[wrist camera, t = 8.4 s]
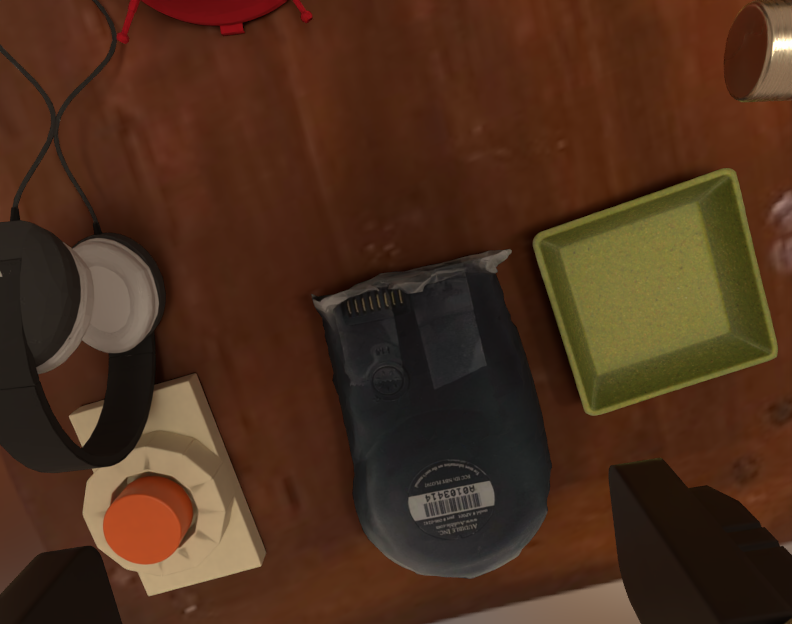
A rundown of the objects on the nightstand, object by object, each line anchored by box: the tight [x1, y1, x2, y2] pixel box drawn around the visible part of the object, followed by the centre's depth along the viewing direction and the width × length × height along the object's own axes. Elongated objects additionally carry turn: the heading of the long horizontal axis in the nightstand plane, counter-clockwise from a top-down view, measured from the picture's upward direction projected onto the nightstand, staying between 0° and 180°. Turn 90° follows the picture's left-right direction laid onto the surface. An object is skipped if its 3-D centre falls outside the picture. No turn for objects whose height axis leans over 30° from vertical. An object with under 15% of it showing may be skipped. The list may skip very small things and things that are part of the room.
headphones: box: [0, 0, 166, 473], centre depth 26 cm, size 10×4×20 cm
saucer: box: [533, 168, 778, 415], centre depth 29 cm, size 9×9×2 cm
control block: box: [69, 373, 266, 596], centre depth 31 cm, size 10×6×3 cm, turn 17°
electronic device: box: [311, 249, 552, 579], centre depth 30 cm, size 9×6×15 cm
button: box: [103, 476, 193, 565], centre depth 29 cm, size 3×3×2 cm
